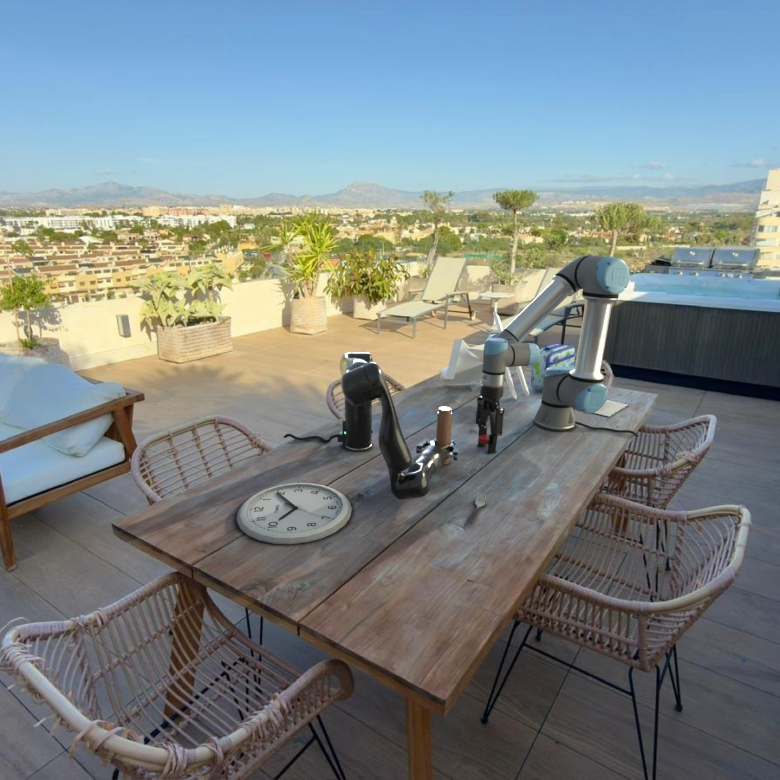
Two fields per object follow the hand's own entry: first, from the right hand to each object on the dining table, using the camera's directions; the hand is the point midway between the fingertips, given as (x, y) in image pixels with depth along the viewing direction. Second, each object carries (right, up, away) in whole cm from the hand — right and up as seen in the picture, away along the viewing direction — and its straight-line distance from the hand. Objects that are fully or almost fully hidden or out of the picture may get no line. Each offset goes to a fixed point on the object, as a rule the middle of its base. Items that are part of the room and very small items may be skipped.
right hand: (486, 448), depth 181 cm
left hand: (-15, +3, -10) cm, 18 cm away
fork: (-10, -13, -40) cm, 44 cm away
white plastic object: (+8, +19, +62) cm, 66 cm away
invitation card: (+58, +13, +45) cm, 75 cm away
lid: (0, +4, -1) cm, 4 cm away
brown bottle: (-16, -3, -10) cm, 20 cm away
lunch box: (+44, +21, +70) cm, 85 cm away
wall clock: (-59, -12, -42) cm, 73 cm away
